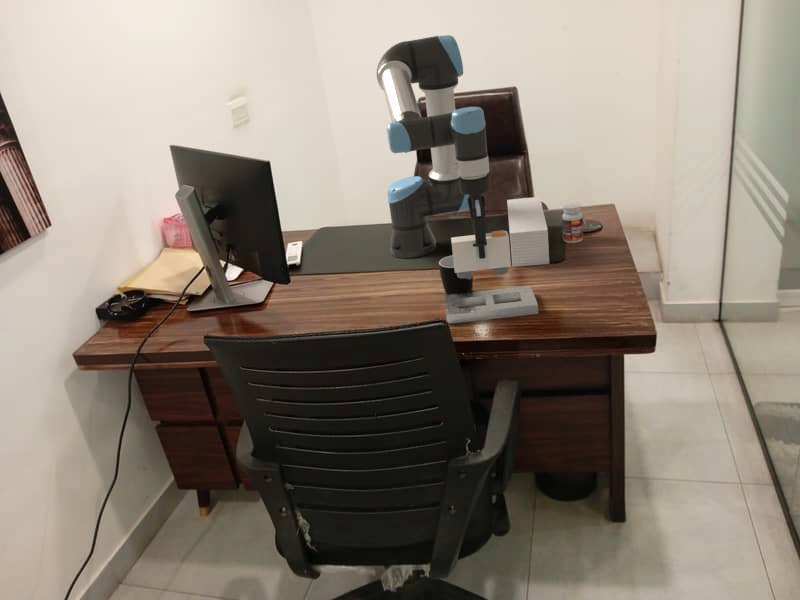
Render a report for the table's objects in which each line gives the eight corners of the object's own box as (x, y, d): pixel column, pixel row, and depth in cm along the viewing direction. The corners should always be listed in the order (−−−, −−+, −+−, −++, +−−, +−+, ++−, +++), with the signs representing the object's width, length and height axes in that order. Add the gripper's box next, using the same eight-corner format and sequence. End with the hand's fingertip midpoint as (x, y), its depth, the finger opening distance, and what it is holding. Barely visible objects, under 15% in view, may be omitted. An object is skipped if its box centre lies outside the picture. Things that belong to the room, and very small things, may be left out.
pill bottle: (574, 245, 205) (572, 210, 200) (558, 241, 210) (557, 206, 205) (587, 239, 208) (586, 204, 203) (572, 235, 213) (571, 201, 208)
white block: (454, 273, 172) (450, 235, 168) (509, 267, 171) (506, 228, 167) (455, 279, 168) (451, 240, 164) (511, 273, 167) (508, 234, 163)
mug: (473, 301, 180) (469, 266, 175) (440, 302, 182) (436, 268, 178) (478, 282, 190) (475, 249, 186) (447, 283, 192) (443, 251, 188)
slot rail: (445, 303, 181) (444, 295, 180) (531, 293, 179) (530, 285, 178) (447, 324, 170) (446, 315, 169) (538, 313, 168) (537, 304, 167)
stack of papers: (509, 230, 226) (507, 199, 221) (541, 227, 224) (539, 196, 219) (512, 267, 197) (509, 233, 192) (549, 264, 195) (547, 229, 191)
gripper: (456, 168, 167) (465, 255, 177) (459, 186, 152) (469, 280, 161) (486, 164, 167) (493, 252, 176) (492, 182, 151) (501, 276, 161)
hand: (482, 265), depth 169 cm, fingers closed on white block, 4 cm apart
